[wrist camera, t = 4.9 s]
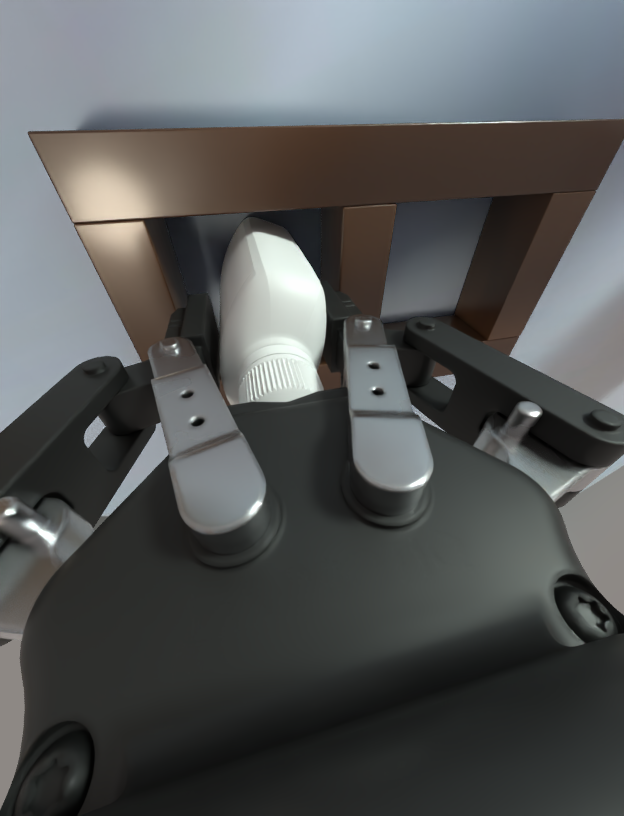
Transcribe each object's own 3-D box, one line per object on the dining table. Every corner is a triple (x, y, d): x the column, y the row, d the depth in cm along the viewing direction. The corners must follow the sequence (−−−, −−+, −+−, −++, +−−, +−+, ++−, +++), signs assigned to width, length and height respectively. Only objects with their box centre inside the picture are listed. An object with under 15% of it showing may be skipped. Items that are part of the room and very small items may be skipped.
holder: (72, 131, 10) (25, 131, 8) (559, 120, 14) (635, 118, 11) (177, 381, 18) (170, 420, 16) (471, 339, 21) (504, 366, 19)
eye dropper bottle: (185, 290, 15) (136, 501, 6) (259, 196, 13) (330, 319, 4) (252, 340, 18) (281, 535, 9) (321, 269, 16) (440, 432, 7)
